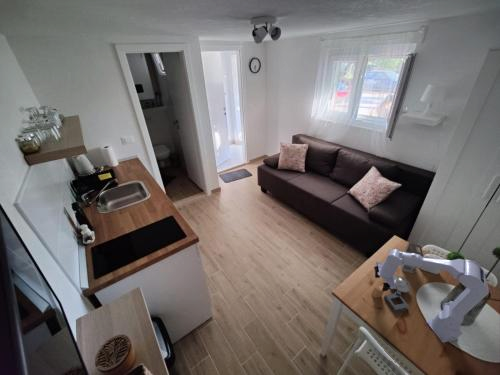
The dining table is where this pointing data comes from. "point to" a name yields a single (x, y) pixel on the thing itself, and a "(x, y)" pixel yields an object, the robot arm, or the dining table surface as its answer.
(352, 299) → the dining table surface
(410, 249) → the coffee box
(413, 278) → the dining table surface
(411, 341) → the dining table surface
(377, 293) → the wedge
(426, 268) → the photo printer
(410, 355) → the dining table surface
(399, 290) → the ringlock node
